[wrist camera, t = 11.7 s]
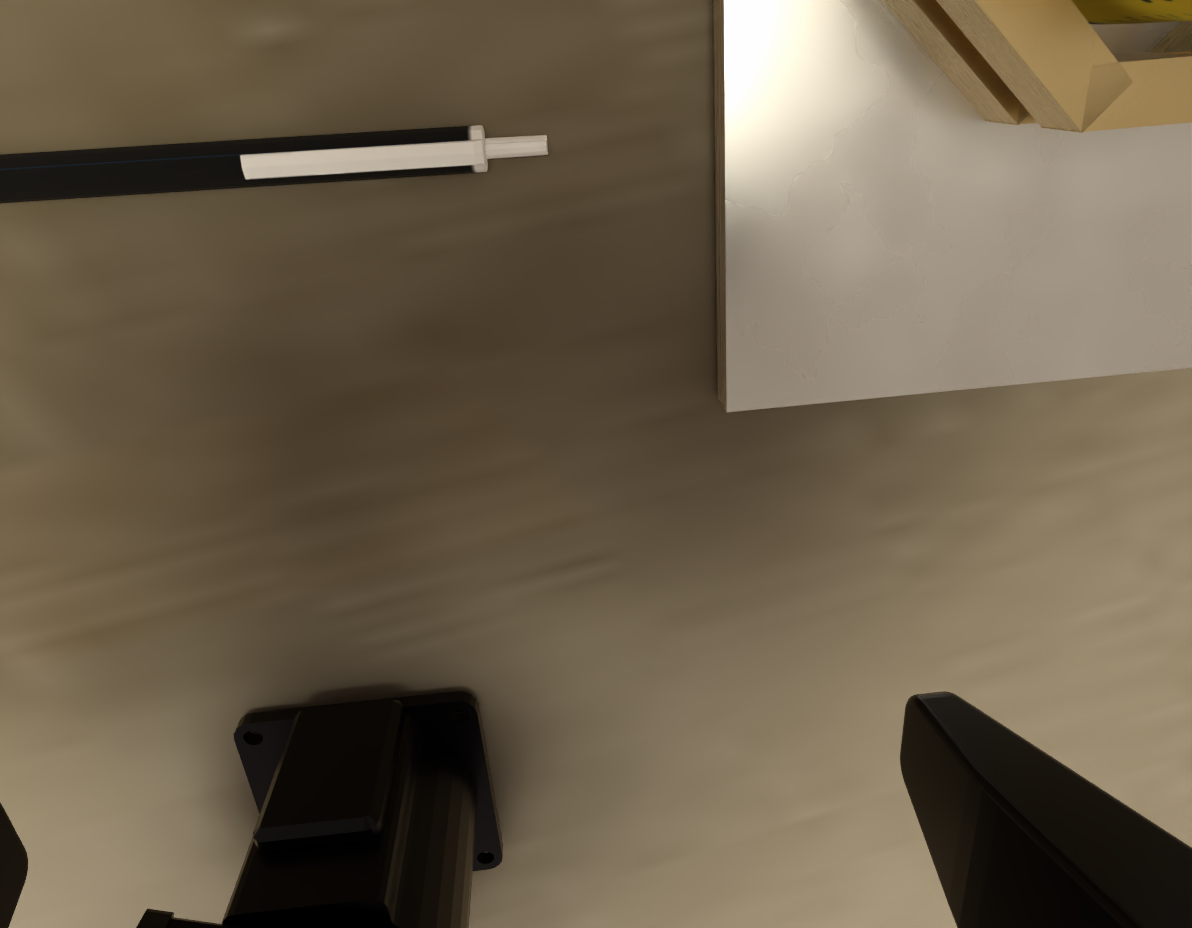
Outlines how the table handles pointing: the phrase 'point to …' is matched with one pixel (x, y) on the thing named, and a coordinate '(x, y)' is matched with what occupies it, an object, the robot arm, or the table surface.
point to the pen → (256, 162)
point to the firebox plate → (946, 197)
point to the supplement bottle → (1134, 11)
